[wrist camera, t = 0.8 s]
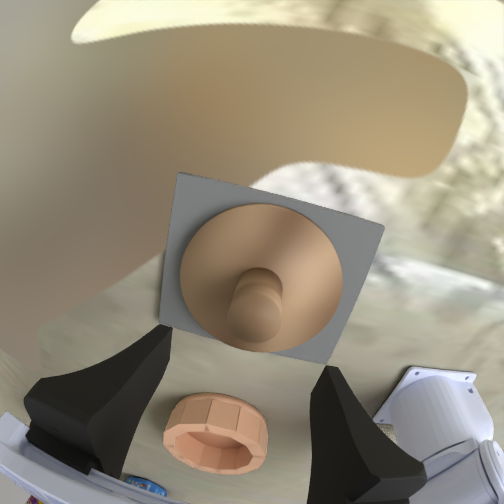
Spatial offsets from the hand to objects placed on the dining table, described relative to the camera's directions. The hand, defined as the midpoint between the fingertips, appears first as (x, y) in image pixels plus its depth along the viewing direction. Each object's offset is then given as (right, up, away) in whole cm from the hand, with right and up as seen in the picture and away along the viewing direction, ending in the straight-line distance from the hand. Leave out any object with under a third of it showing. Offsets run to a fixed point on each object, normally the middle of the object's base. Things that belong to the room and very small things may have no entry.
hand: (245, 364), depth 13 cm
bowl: (-3, -13, +15) cm, 20 cm away
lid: (+1, +3, +8) cm, 9 cm away
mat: (+1, +3, +9) cm, 9 cm away
